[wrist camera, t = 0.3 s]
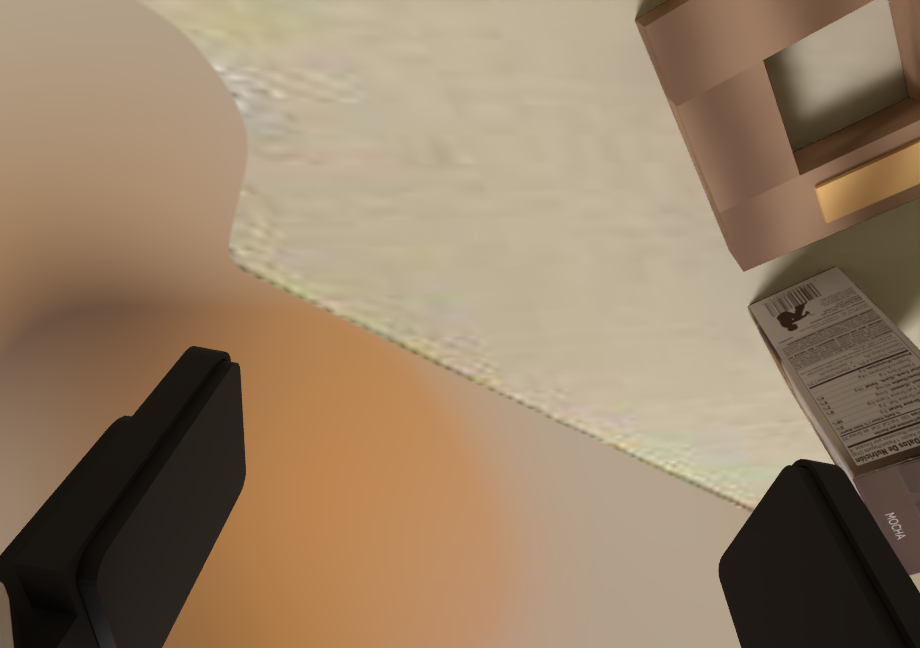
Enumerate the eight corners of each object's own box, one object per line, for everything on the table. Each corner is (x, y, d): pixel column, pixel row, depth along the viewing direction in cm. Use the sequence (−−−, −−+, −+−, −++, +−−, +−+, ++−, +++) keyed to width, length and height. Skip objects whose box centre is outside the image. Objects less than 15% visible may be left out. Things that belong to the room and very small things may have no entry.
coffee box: (878, 355, 42) (1046, 548, 29) (787, 390, 45) (903, 584, 31) (839, 261, 38) (1011, 432, 25) (743, 305, 41) (852, 483, 28)
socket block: (971, -186, 26) (1024, -201, 23) (1012, 126, 33) (1056, 143, 30) (634, 20, 32) (645, 27, 29) (729, 250, 39) (745, 274, 36)
